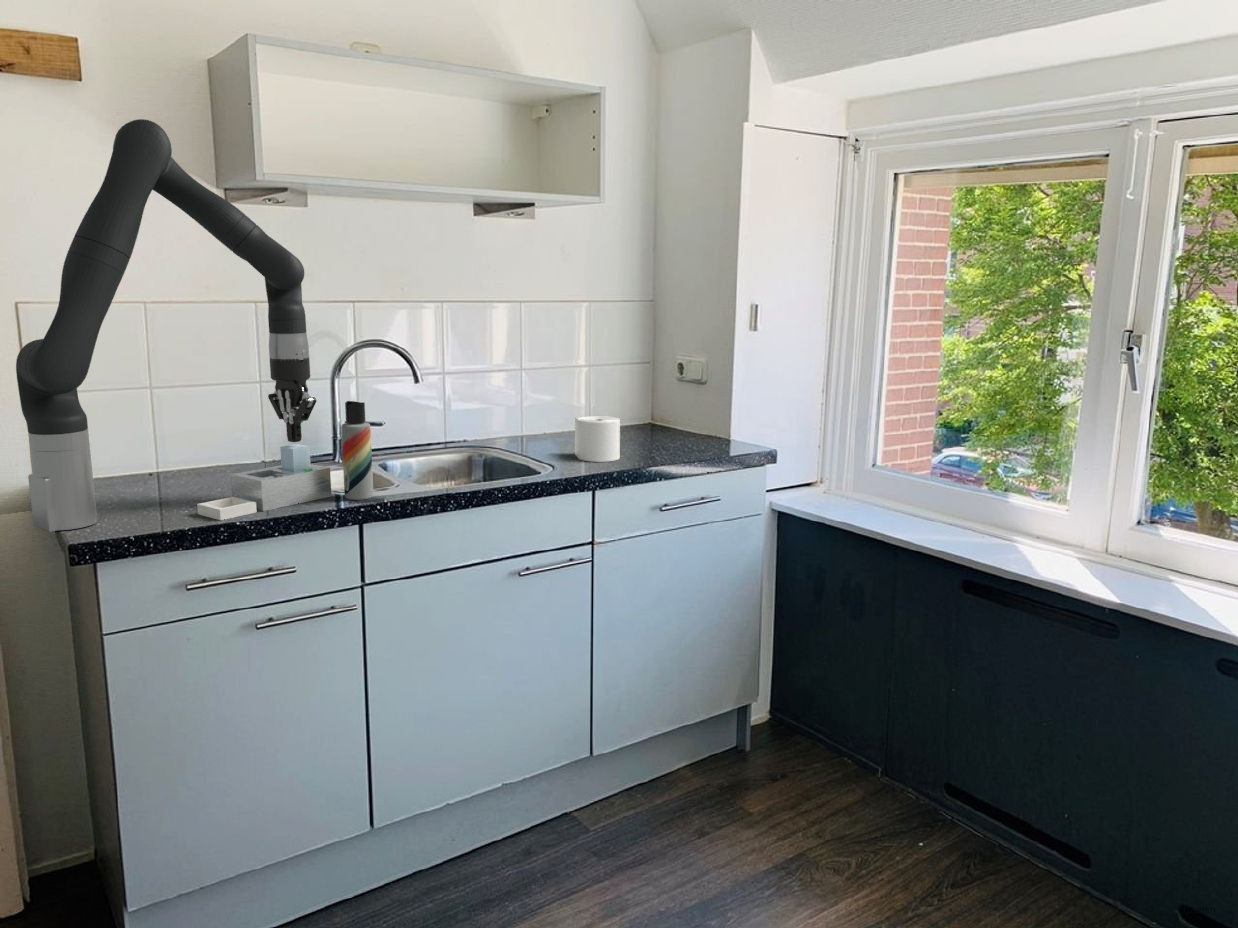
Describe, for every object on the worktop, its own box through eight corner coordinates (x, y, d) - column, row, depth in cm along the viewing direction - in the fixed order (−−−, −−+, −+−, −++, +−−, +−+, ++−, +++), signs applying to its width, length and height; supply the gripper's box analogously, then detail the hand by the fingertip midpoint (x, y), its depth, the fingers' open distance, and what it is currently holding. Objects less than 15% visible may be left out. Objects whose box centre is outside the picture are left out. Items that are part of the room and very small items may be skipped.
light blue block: (295, 492, 191) (292, 448, 189) (283, 490, 193) (280, 446, 192) (311, 489, 194) (309, 446, 193) (299, 486, 197) (297, 444, 195)
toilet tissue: (617, 463, 232) (617, 422, 231) (568, 461, 234) (568, 421, 232) (622, 455, 243) (622, 416, 241) (576, 453, 244) (576, 415, 242)
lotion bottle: (338, 497, 194) (333, 400, 190) (359, 492, 198) (355, 397, 194) (358, 501, 191) (354, 403, 187) (379, 496, 195) (375, 399, 191)
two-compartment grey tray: (263, 511, 182) (261, 478, 181) (232, 503, 188) (230, 472, 186) (331, 496, 195) (329, 465, 194) (301, 489, 201) (299, 460, 199)
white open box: (220, 520, 175) (219, 509, 175) (197, 514, 179) (197, 504, 179) (256, 512, 181) (255, 502, 181) (233, 506, 185) (233, 496, 185)
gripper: (252, 355, 189) (258, 440, 193) (293, 359, 182) (299, 447, 185) (285, 353, 195) (290, 435, 199) (326, 356, 188) (330, 442, 191)
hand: (294, 441), depth 192 cm, fingers closed
